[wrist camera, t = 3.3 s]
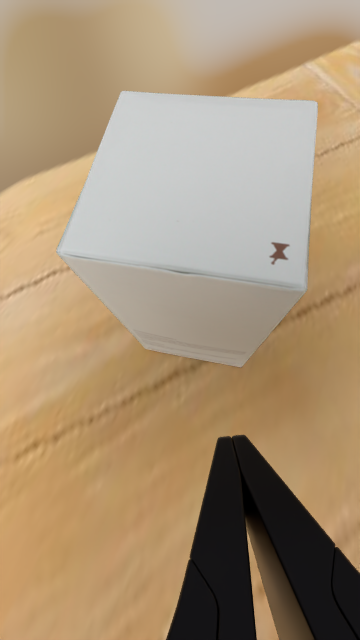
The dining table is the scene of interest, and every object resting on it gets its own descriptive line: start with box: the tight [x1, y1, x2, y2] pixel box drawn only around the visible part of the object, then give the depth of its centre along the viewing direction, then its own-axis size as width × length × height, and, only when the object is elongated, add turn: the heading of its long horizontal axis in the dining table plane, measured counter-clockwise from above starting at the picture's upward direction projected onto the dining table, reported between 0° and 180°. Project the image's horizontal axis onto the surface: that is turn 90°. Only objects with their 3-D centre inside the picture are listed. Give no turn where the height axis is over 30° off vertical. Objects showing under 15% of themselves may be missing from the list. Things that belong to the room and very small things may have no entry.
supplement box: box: [56, 91, 318, 367], centre depth 14 cm, size 7×7×13 cm
